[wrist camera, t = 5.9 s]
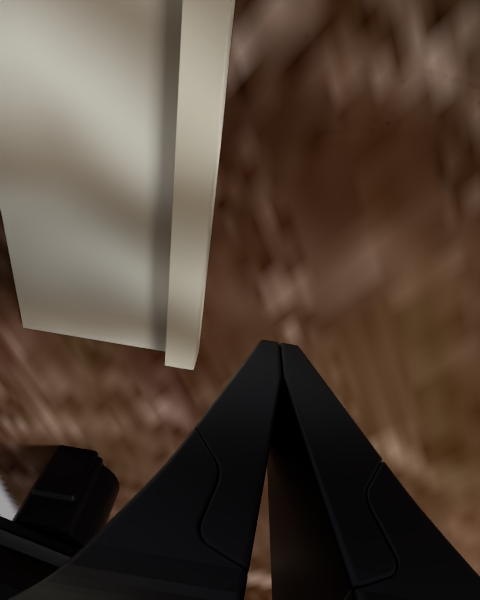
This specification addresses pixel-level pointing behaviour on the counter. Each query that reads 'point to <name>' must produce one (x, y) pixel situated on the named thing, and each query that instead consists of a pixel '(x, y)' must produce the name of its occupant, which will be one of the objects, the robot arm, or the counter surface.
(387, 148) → the counter surface
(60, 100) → the board
